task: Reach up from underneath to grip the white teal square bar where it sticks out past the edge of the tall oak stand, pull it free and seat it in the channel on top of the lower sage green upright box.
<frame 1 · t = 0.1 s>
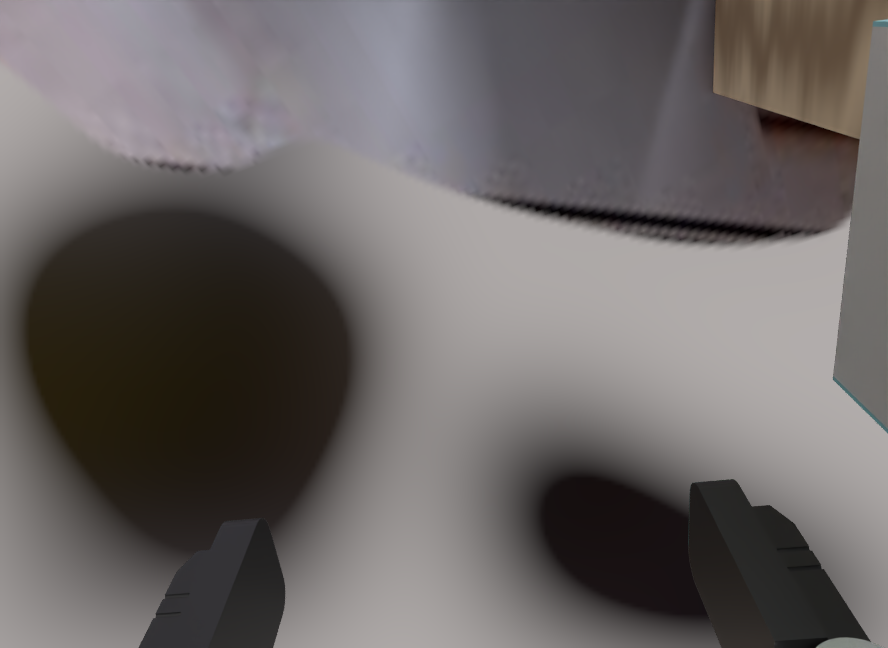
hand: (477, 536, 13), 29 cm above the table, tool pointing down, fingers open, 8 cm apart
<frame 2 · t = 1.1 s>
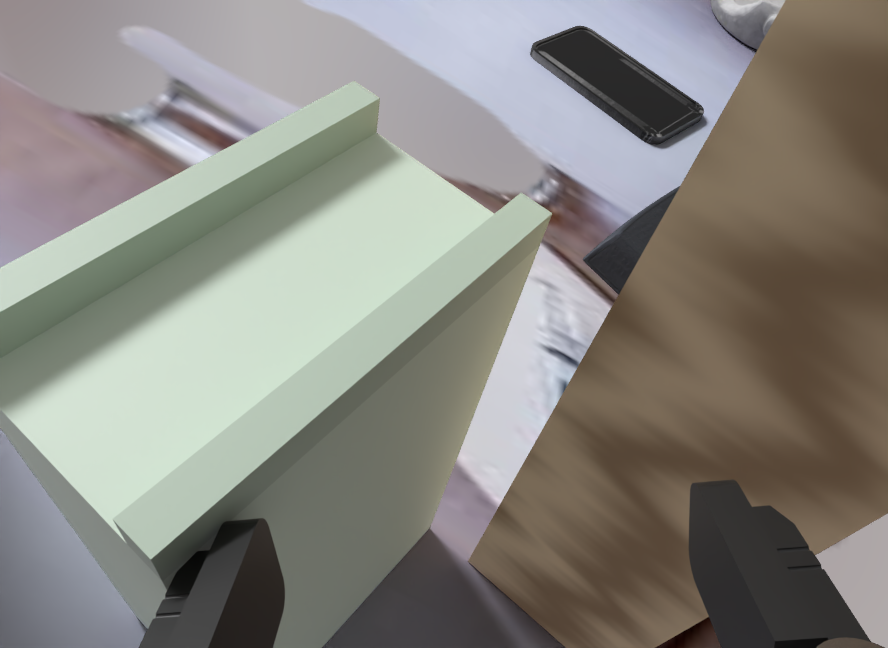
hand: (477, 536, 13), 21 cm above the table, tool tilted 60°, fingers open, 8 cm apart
phone: (612, 90, 63), on the table
sage green upright box: (292, 568, 33), on the table
oak stand: (615, 502, 38), on the table
dish: (765, 26, 74), on the table
external hard drive: (723, 269, 51), on the table
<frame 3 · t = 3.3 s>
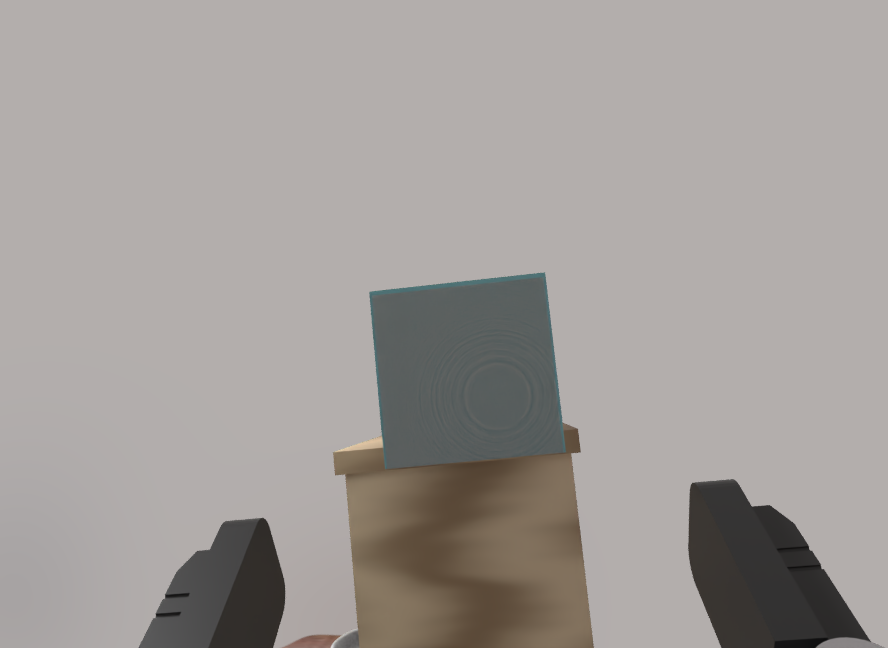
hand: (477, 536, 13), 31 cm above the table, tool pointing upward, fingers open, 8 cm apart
white teal square bar: (484, 433, 28), point 32 cm above the table, touching oak stand
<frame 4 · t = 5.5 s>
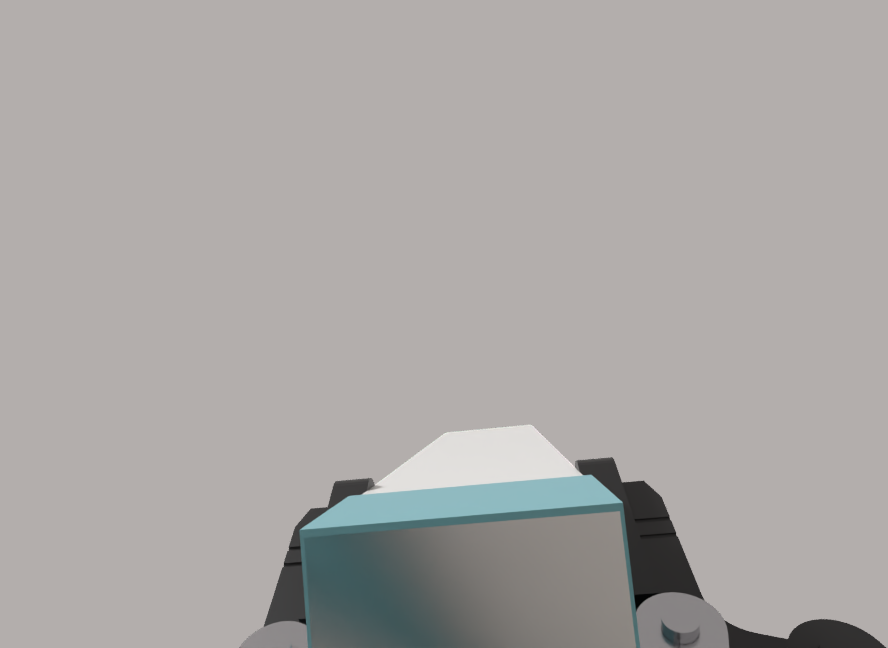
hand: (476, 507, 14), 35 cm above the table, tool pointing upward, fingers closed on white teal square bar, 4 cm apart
white teal square bar: (495, 588, 20), point 32 cm above the table, touching gripper, oak stand
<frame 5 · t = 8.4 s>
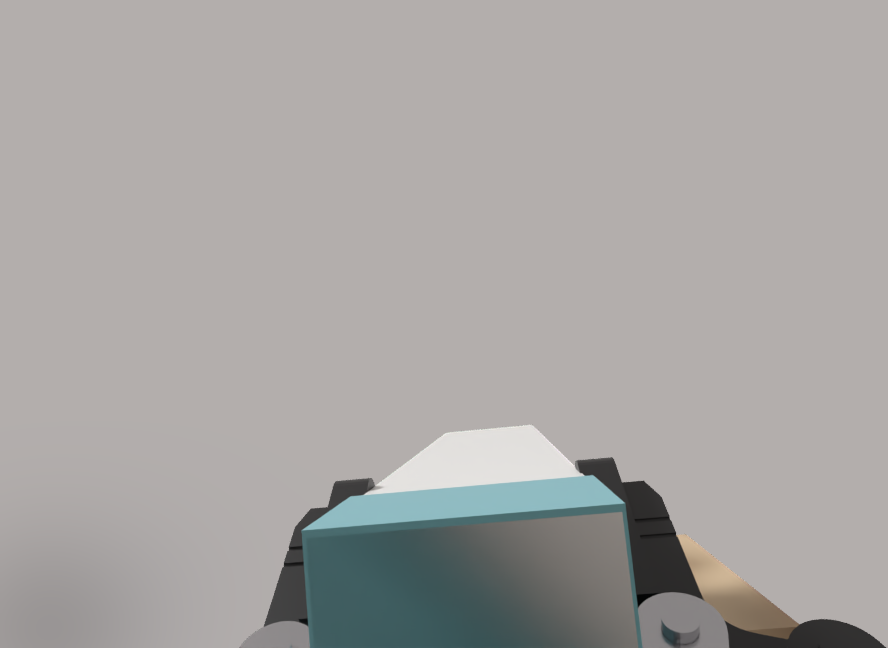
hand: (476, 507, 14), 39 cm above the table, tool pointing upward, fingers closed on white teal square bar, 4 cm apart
white teal square bar: (497, 588, 20), point 36 cm above the table, touching gripper
when the fingers open (26 cm above the table, at t = 11.7 s): white teal square bar drops 2 cm, resting on sage green upright box.
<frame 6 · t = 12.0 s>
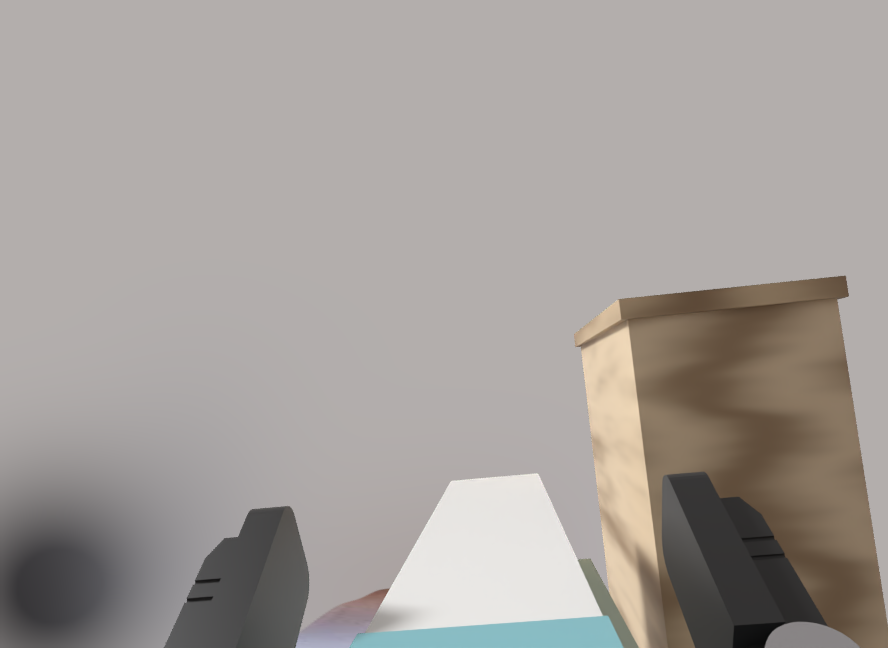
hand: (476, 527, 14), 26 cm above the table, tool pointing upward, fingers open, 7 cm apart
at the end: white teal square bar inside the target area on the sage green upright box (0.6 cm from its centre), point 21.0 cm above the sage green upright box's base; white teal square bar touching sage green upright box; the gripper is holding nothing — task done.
